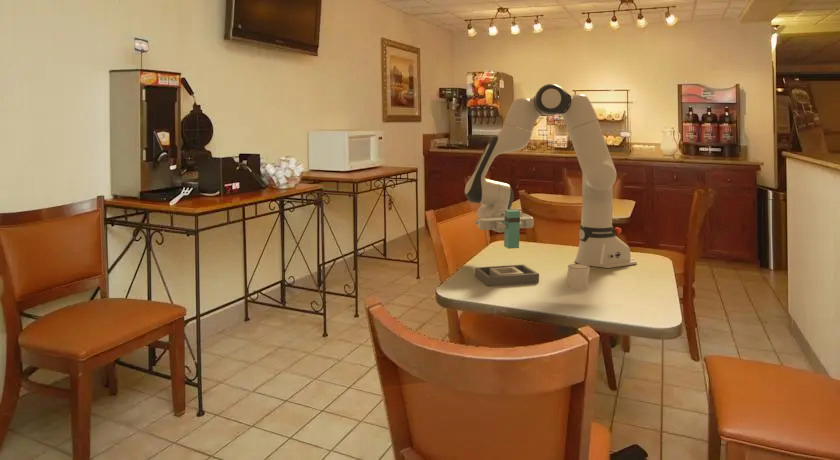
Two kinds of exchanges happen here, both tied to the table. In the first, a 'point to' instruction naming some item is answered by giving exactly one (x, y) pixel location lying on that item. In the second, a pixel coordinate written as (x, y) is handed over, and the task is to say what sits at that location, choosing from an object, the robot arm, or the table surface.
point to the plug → (512, 229)
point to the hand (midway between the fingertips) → (512, 226)
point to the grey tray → (506, 275)
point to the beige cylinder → (578, 276)
